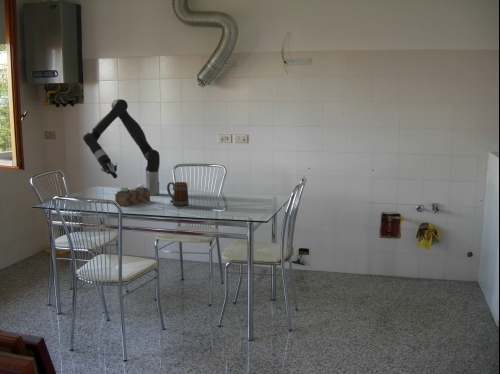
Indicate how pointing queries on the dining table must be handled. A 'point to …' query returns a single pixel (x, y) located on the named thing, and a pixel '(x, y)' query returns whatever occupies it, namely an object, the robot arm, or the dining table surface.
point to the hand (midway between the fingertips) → (116, 177)
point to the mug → (179, 194)
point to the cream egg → (141, 186)
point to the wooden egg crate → (132, 197)
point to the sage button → (124, 189)
